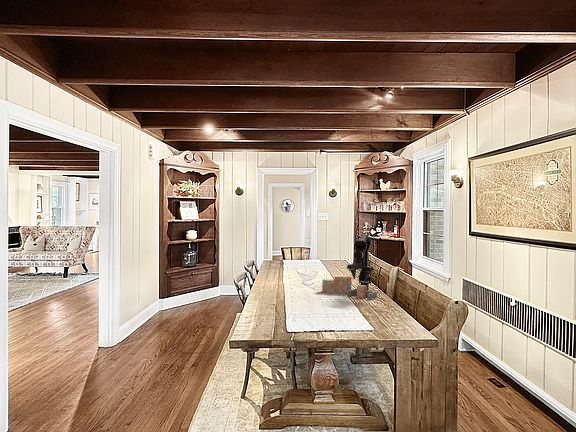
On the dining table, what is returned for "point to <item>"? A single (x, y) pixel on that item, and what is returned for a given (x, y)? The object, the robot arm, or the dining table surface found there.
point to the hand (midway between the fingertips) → (359, 280)
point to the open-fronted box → (369, 294)
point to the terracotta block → (362, 291)
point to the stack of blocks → (337, 284)
